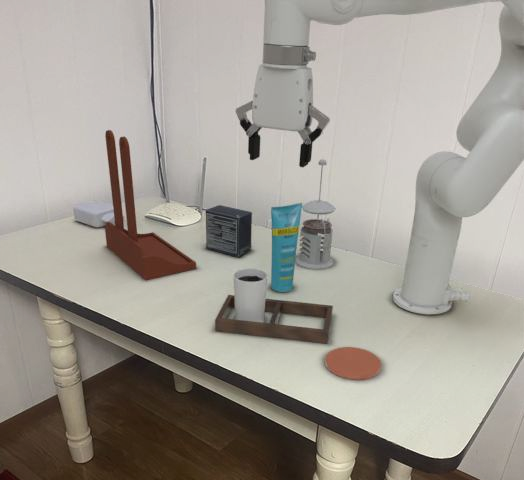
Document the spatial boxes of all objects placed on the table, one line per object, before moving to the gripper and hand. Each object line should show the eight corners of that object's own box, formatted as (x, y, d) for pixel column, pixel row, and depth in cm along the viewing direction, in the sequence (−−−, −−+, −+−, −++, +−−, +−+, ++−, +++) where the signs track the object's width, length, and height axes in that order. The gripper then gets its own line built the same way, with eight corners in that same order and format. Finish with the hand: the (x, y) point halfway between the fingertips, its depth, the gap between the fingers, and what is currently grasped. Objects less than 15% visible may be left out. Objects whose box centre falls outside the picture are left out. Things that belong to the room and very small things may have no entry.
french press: (324, 252, 148) (333, 153, 135) (343, 269, 138) (355, 165, 125) (289, 255, 145) (295, 155, 132) (306, 273, 136) (314, 167, 123)
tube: (274, 295, 125) (278, 210, 115) (262, 287, 128) (265, 203, 118) (301, 288, 128) (307, 205, 118) (289, 280, 132) (294, 199, 122)
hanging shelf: (196, 268, 136) (191, 138, 120) (145, 280, 129) (134, 144, 114) (153, 238, 153) (144, 120, 137) (107, 247, 146) (92, 124, 131)
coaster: (380, 353, 105) (381, 350, 105) (380, 383, 96) (381, 380, 96) (327, 347, 106) (327, 344, 106) (322, 376, 98) (323, 373, 97)
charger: (109, 233, 155) (75, 221, 162) (135, 225, 161) (100, 214, 169) (107, 217, 152) (72, 205, 160) (133, 209, 159) (98, 198, 166)
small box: (252, 250, 147) (253, 211, 142) (238, 258, 142) (239, 217, 137) (220, 242, 152) (219, 203, 147) (205, 249, 147) (204, 209, 142)
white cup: (239, 310, 118) (239, 266, 113) (270, 316, 116) (271, 271, 111) (228, 325, 112) (228, 279, 107) (260, 330, 111) (262, 284, 106)
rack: (331, 316, 117) (332, 305, 116) (327, 343, 107) (328, 332, 106) (228, 305, 120) (228, 294, 119) (215, 331, 110) (215, 319, 109)
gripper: (340, 60, 95) (329, 164, 103) (246, 52, 100) (244, 152, 109) (328, 62, 89) (317, 173, 97) (228, 54, 94) (227, 160, 103)
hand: (278, 162), depth 103 cm, fingers open, 9 cm apart
